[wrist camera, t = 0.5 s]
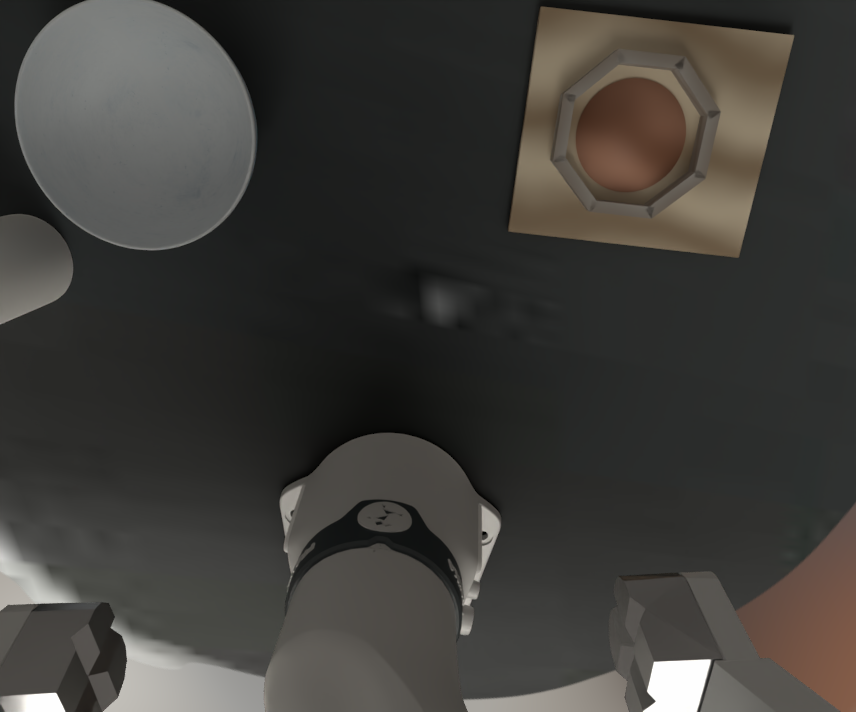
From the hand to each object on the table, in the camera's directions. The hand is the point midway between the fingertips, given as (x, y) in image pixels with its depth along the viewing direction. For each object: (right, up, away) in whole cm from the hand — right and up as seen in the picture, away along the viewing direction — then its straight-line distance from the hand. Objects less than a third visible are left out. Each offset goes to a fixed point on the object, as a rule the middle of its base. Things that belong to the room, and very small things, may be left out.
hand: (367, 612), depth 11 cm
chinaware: (-17, +21, +39) cm, 47 cm away
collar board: (+16, +20, +38) cm, 46 cm away
